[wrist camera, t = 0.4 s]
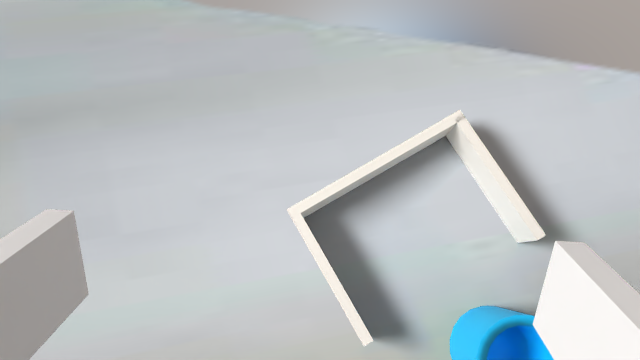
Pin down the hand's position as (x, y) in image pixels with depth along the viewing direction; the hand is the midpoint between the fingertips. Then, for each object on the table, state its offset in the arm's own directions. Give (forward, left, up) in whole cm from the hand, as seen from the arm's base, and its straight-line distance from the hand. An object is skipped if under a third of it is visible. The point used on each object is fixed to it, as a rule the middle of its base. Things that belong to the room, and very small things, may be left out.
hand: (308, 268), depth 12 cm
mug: (-17, -9, -34) cm, 39 cm away
